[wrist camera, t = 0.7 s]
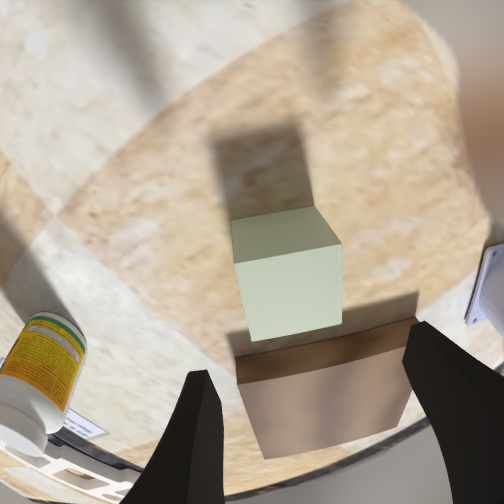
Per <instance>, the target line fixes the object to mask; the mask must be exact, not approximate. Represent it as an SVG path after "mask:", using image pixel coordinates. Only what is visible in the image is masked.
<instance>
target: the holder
mask: <svg viewBox="0 0 504 504" xmlns="http://www.w3.org/2000/svg"><path fill="white" fill-rule="evenodd" d="M0 449H1V450H2V451H4V452H6V453H7V454H9V455H10V456H12V457H14V458H15V459H17V460H19V461H21V462H22V463H24V464H26V465H28V466H30V467H31V468H33V469H35V470H37V471H39V472H41V473H43V474H45V475H47V476H49V477H51V478H53V479H55V480H57V481H59V482H62V483H64V484H66V485H68V486H71V487H73V488H75V489H78V490H80V491H82V492H85V493H87V494H90V495H93V496H95V497H98V498H101V499H103V500H106V501H109V502H112V503H115V504H119V503H120V502H121V500H122V499H123V498H124V497H125V495H126V494H127V493H128V492H129V490H130V489H131V487H132V486H133V485H134V483H135V482H136V480H137V479H138V477H139V476H140V475H141V473H140V472H137V471H134V470H132V469H128V468H127V469H124V470H118V469H116V468H113V467H111V466H109V465H106V464H104V463H102V462H99V461H97V460H95V459H93V458H90V457H88V456H86V455H84V454H82V453H80V452H78V451H76V450H74V449H72V448H70V447H68V446H66V445H63V446H61V447H58V446H56V445H54V444H52V443H50V442H47V445H46V447H45V451H44V454H43V456H42V457H43V458H41V457H34V456H31V455H27V454H25V453H22V452H20V451H18V450H16V449H14V448H13V447H11V446H9V445H8V444H6V443H5V442H3V441H2V440H1V439H0ZM67 468H74V469H76V470H78V471H81V472H83V473H85V474H87V475H90V476H92V477H94V479H90V480H87V479H83V478H81V477H79V476H77V475H74V474H72V473H70V472H68V471H66V470H64V469H67Z"/></svg>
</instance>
